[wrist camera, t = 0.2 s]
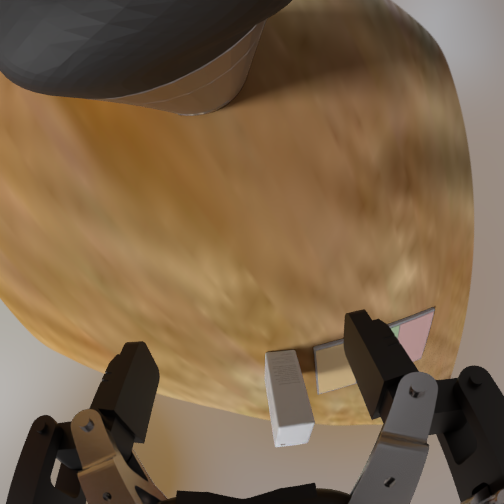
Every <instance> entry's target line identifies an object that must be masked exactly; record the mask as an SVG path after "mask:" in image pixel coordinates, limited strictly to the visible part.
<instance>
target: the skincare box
mask: <svg viewBox="0 0 504 504" xmlns="http://www.w3.org/2000/svg"><path fill="white" fill-rule="evenodd" d="M265 385H266V391H267V398H268V404H269V411H270V417H271V424H272V430H273V437H274V443H275V447H283V446H291V445H298V444H304V443H308V441H309V438H310V435H311V432H312V429H313V426H314V424H315V421H314V417H313V413H312V409H311V406H310V402H309V398H308V394H307V391H306V387H305V383H304V380H303V376H302V373H301V369H300V365H299V362H298V358H297V355H296V351H295V350H287V351H277V352H266V353H265Z"/></svg>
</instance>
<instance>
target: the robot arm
mask: <svg viewBox="0 0 504 504" xmlns="http://www.w3.org/2000/svg"><path fill="white" fill-rule="evenodd" d="M291 1H292V0H0V71H1V72H2V73H3V74H4V75H5V76H6V78H8V79H9V80H10V81H12V82H13V83H15V84H16V85H18V86H20V87H22V88H24V89H27V90H30V91H33V92H36V93H41V94H46V95H52V96H62V97H73V98H85V99H92V100H100V101H108V102H116V103H124V104H130V105H136V106H142V107H147V108H152V109H157V110H162V111H167V112H172V113H177V114H179V115H202V114H208V113H210V112H213V111H216V110H218V109H220V108H222V107H223V106H225V105H227V104H228V103H229V102H230V101H231V100H232V99H234V98H235V97H236V95H237V94H238V93H239V91H240V90H241V89H242V86H243V84H244V82H245V80H246V77H247V74H248V72H249V69H250V66H251V63H252V60H253V57H254V54H255V51H256V48H257V45H258V42H259V39H260V36H261V33H262V31H263V28H264V25H265V22H266V20H267V18H269V17H271V16H272V15H274V14H276V13H277V12H278V11H280V10H281V9H282V8H284V7H285V6H287V5H288V4H289V3H290V2H291ZM343 344H344V352H345V355H346V358H347V360H348V363H349V365H350V367H351V370H352V372H353V374H354V377H355V379H356V382H357V384H358V386H359V389H360V391H361V394H362V396H363V399H364V401H365V404H366V406H367V409H368V411H369V414H370V416H371V419H372V420H373V419H376V418H379V417H381V419H382V421H383V423H384V424H383V426H382V428H381V431H380V433H379V436H378V438H377V441H376V443H375V445H374V448H373V450H372V452H371V455H370V457H369V459H368V461H367V463H366V465H365V467H364V469H363V471H362V473H361V475H360V477H359V479H358V480H357V482H356V484H355V486H354V488H353V490H352V492H351V493H350V495H349V494H347V493H344V492H341V491H337V490H332V489H320V488H319V489H318V488H316V485H315V483H311V484H305V485H300V486H293V487H287V488H280V489H277V490H274V491H271V492H268V493H264V494H261V495H258V496H254V497H251V498H247V499H239V498H233V497H228V496H223V495H218V494H214V493H210V492H191V491H177V495H176V497H174V498H170V499H167V498H166V496H165V495H164V494H163V493H162V492H161V491H160V490H159V489H158V488H157V487H156V486H155V484H154V483H153V481H152V480H151V478H150V477H149V475H148V473H147V472H146V470H145V468H144V467H143V465H142V463H141V462H140V460H139V458H138V456H137V454H136V452H135V451H134V450H133V449H132V447H133V443H134V442H135V443H144V442H145V437H146V433H147V428H148V424H149V420H150V415H151V411H152V407H153V403H154V399H155V395H156V391H157V387H158V383H159V378H160V376H159V369H158V367H157V365H156V363H155V361H154V359H153V357H152V355H151V353H150V351H149V349H148V347H147V345H146V344H145V342H143V341H141V342H127V343H125V345H124V347H123V349H122V351H121V353H120V354H117V355H116V356H115V357H114V359H113V360H112V361H111V362H110V363H109V365H108V367H107V369H106V372H105V373H106V374H104V376H103V378H102V382H101V383H100V385H99V387H98V390H97V392H96V394H95V397H94V399H93V402H92V404H91V406H90V408H89V409H85V410H82V411H80V412H79V413H77V414H76V415H75V416H74V418H73V419H72V421H71V422H64V423H57V422H56V421H55V420H54V419H53V418H52V417H51V416H48V415H43V416H40V417H39V418H37V419H36V420H35V421H34V422H33V424H32V426H31V428H30V431H29V433H28V436H27V439H26V441H25V444H24V446H23V449H22V452H21V455H20V458H19V460H18V463H17V466H16V470H15V473H14V476H13V480H12V483H11V486H10V490H9V494H8V497H7V502H6V504H86V500H87V502H88V504H410V502H411V499H412V497H413V495H414V492H415V490H416V487H417V484H418V482H419V479H420V476H421V473H422V470H423V467H424V464H425V461H426V458H427V454H428V450H429V445H428V444H427V438H428V435H433V434H436V435H437V437H438V440H439V442H440V444H441V447H442V450H443V452H444V455H445V457H446V460H447V462H448V465H449V468H450V471H451V474H452V477H453V480H454V482H455V486H456V488H457V492H458V495H459V498H460V501H461V504H504V396H503V395H502V393H501V391H500V389H499V388H498V386H497V385H496V383H495V382H494V380H493V379H492V377H491V375H490V374H489V373H488V371H486V370H485V369H484V368H482V367H479V366H469V367H466V368H465V369H463V371H462V372H461V373H460V375H459V377H458V378H454V379H445V380H435V379H434V378H433V377H432V376H430V375H429V374H427V373H423V372H419V371H418V370H417V368H416V366H415V365H414V363H413V362H412V360H411V359H410V357H409V355H408V354H407V352H406V351H405V349H404V348H403V346H402V345H401V344H400V342H399V340H398V339H397V337H396V336H395V334H394V333H393V331H392V330H391V328H390V327H389V325H387V324H386V323H384V322H383V321H381V320H380V319H376V320H372V319H371V318H370V316H369V315H368V313H367V312H366V310H364V309H363V310H359V311H355V312H350V313H346V314H345V324H344V341H343ZM56 458H57V459H58V460H59V461H60V462H61V465H60V469H59V473H58V477H57V481H56V485H55V487H54V486H53V485H52V483H51V479H50V476H51V473H52V469H53V466H54V462H55V459H56Z"/></svg>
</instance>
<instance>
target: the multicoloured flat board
mask: <svg viewBox="0 0 504 504" xmlns="http://www.w3.org/2000/svg"><path fill="white" fill-rule="evenodd" d="M434 311H435V308H434V307H432V308H430V309H427V310H425V311H422V312H420V313H417V314H414V315H412V316H409V317H407V318H404V319H401V320H398V321H396V322H393V323H390V324H387V325H389V327H390V328H391V330H392V331H393V333H394V334H395V336H396V337H397V339H398V340H399V342H400V344H401V345H402V346H403V348H404V349H405V351H406V352H407V354H408V355H409V357H410V359H411V360H412V362H414V361H416V360H418V359H421V357H422V354H423V351H424V348H425V344H426V341H427V338H428V334H429V330H430V327H431V323H432V319H433V315H434ZM343 341H344V339H340V340H337V341H333V342H330V343H326V344H322V345H318V346H315V347H313V349H314V360H315V371H316V382H317V393H318V394H322V393H325V392H329V391H333V390H336V389H339V388H343V387H346V386H349V385H352V384H356V383H357V382H356V379H355V377H354V374H353V372H352V370H351V367H350V365H349V363H348V360H347V358H346V355H345V352H344V344H343Z"/></svg>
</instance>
